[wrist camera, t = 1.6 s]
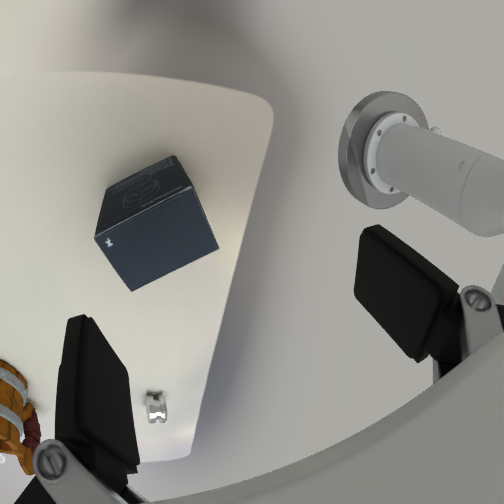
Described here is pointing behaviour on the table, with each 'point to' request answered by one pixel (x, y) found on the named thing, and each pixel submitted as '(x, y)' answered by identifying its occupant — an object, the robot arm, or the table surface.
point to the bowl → (2, 457)
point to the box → (153, 224)
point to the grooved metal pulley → (156, 409)
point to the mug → (17, 418)
